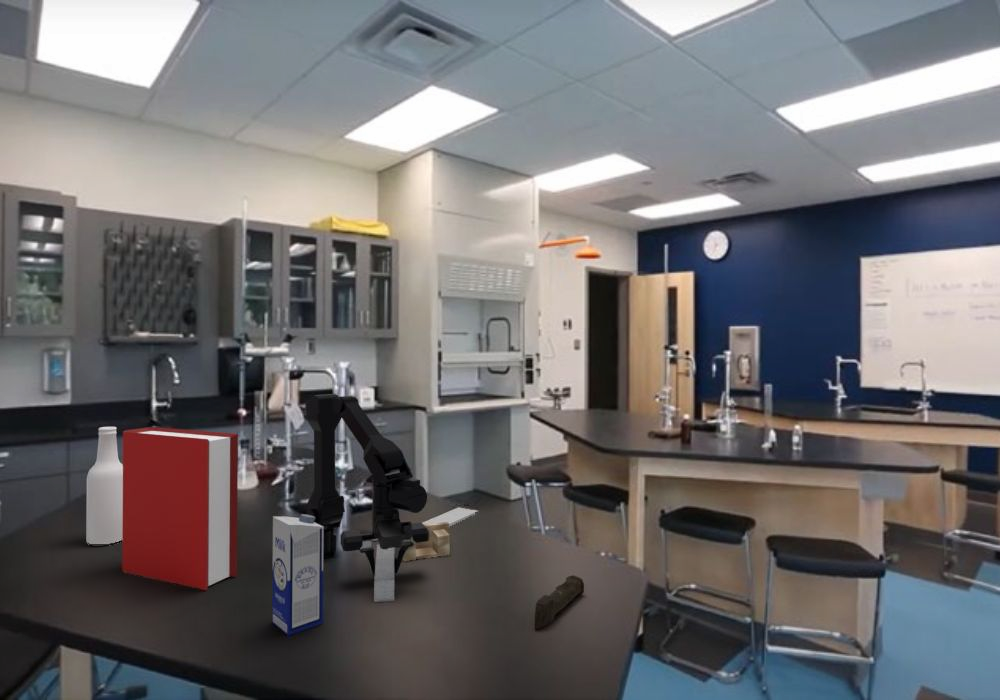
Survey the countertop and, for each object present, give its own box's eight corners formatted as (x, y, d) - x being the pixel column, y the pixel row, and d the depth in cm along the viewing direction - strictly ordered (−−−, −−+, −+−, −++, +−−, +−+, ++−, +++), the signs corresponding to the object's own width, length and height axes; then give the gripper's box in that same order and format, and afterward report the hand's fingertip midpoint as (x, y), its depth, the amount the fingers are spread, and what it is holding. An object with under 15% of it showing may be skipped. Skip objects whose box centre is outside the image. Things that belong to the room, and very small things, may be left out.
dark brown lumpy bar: (567, 591, 122) (567, 569, 122) (584, 596, 119) (584, 573, 119) (522, 628, 106) (522, 602, 106) (541, 633, 104) (541, 608, 104)
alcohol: (134, 536, 154) (135, 425, 154) (109, 548, 145) (110, 430, 145) (104, 535, 155) (105, 424, 155) (77, 546, 146) (78, 429, 146)
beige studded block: (396, 562, 137) (396, 537, 137) (390, 552, 144) (390, 528, 144) (456, 554, 142) (456, 530, 142) (447, 544, 149) (447, 521, 149)
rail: (374, 603, 115) (374, 581, 115) (376, 563, 137) (377, 544, 137) (394, 602, 116) (394, 580, 116) (393, 562, 138) (393, 543, 138)
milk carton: (271, 622, 107) (272, 515, 107) (306, 610, 111) (306, 508, 111) (288, 636, 102) (289, 523, 101) (323, 623, 106) (324, 516, 106)
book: (236, 577, 127) (237, 433, 127) (206, 591, 120) (207, 439, 120) (150, 559, 138) (151, 426, 137) (118, 571, 130) (118, 431, 130)
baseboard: (388, 537, 157) (417, 544, 152) (389, 527, 157) (418, 533, 152) (451, 510, 183) (478, 515, 178) (451, 501, 183) (478, 506, 178)
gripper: (347, 519, 116) (346, 596, 116) (436, 509, 123) (435, 582, 123) (340, 505, 126) (339, 575, 126) (422, 497, 133) (422, 564, 133)
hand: (384, 574), depth 127 cm, fingers closed on rail, 4 cm apart
